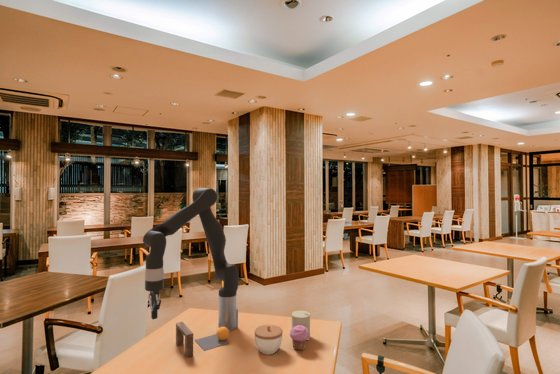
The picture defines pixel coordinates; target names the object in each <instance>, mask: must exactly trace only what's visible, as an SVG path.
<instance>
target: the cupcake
mask: <svg viewBox="0 0 560 374" xmlns="http://www.w3.org/2000/svg"><path fill="white" fill-rule="evenodd" d="M289 336H290V338H291V341H292V348H293V349H294V350H297V349H298V351H304V349H305V346H306V343H307V341H306V340H307V338H308V337H309V331H308V329H307V328H306V327H305V326H302V325H297V326H295V327H293V328H292V327H291V329H290V331H289Z"/></svg>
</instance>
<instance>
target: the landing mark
mask: <svg viewBox="0 0 560 374" xmlns="http://www.w3.org/2000/svg"><path fill="white" fill-rule="evenodd" d="M194 341H195V342H196V343H197V345H198V346H199V347H200V348H201V349H202V350H203V351H209V350H211V349H214V348H217V347H221V346H225V345H228V344H229V342H228V341H227V339H225V340H219V339H218V338H217V335H216V334H211V335H208V336H204V337H201V338H196V339H195V340H194Z"/></svg>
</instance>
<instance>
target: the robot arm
mask: <svg viewBox="0 0 560 374" xmlns="http://www.w3.org/2000/svg"><path fill="white" fill-rule="evenodd" d="M217 201H218V194H217V191H216V190H215V189H213V188H211V187H210V188H209V187H199V188H196V189H194V191H193V192H192V203H190V204H189V205H187V206H185V207H183V208H181V209H179V210H178V211H176V212H174V213H173V214H172V215H170V216H169V217H168V218H166V219H165V220H164V221H163V222H161V223H160V224H158V225H155V226H154V227H152V228H150V229H149V230H148V231H146V233H145V234H144V235H143V237H142V242H143V245H145V246H146V247H148V248H149V249H150V251H149V253H148V254H147V255H146V256H145V270H144V271H145V272H144V290H145V291H146V292H149V293H147V297H148V304H149V307H150V311H151V312H150V314H151V315H150V317H151V319H152V320H156V319H158V311H159V310H160V308H161V305H162V300H161V299H160V298H161V293H160V291H162V290H163V289H164V287H165V284H164V283H165V282H164V281H165V279H164V278H165V273H164V272H165V270H164V256H165V252H166V247H167V238H166V237H168V236H172V235H174V234H176V232H178V231H179V230H180V229H181V228H182V227H184V226H185V225H187V223H188V222H190V221H191V220H193V219H194V218H195V217H197V216H199V219H200V222H201V225H202V228H203V231H204V235H205V238H206V242H207V245H208V247H209V250H210V254H211V258H212V262H213V267H214V268H213V269H214V272H215V276H216V278H217V279H218V280H220V281H223V287H221V288H219V289H218V323H217V324H218V329H219V328H220V327H226V328H227V329H228V330H229V332H231V331H234V330H235V329H238V328H239V309H238V308H237V296H238V295H237V292H238V289H239V278H240V276H239V275H240V274H239V273H240V272H239V267H237V265H236V264H231V263H228V261H227V258H226V255H225V248H226V247H225V246H226V245H227V244H226V241H227V239H226V236H225V235H226V234H225V231H224V228H223V225H222V224H221V223H220V221H219V220H218V219H217V218H216V216H215V214H214V213H213V212H212V208H211V207H212V206H214V205H215V204H216V202H217Z"/></svg>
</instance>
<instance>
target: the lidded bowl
mask: <svg viewBox="0 0 560 374" xmlns="http://www.w3.org/2000/svg"><path fill="white" fill-rule="evenodd" d="M283 333H284V332H283V329H282V327H280V326H278V325H276V324H263V325H259V326H257V327H256V328H255V329H254V342H255V345H256V348H257V349H258V350H259V352H260V353H261V352H262V353H261V354H263V355H266V354H271V355H274V354H275V352H277V351H278V350H279V349H280V348H281V345H282V342H283ZM273 353H274V354H273Z"/></svg>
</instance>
